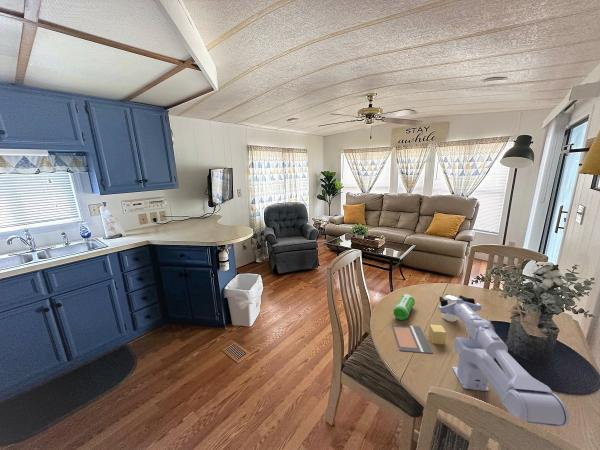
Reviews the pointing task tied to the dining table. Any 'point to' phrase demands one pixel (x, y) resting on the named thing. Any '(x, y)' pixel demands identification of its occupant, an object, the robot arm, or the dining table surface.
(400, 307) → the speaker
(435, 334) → the block
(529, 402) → the robot arm
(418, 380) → the dining table surface
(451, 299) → the can
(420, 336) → the mat
